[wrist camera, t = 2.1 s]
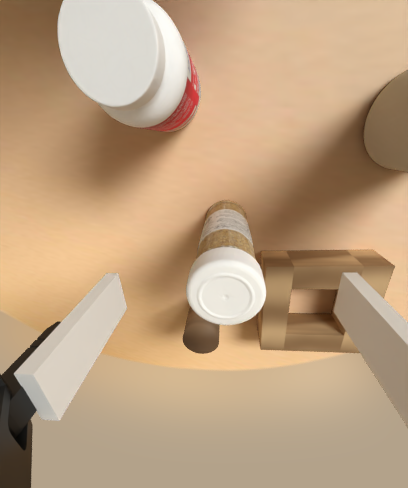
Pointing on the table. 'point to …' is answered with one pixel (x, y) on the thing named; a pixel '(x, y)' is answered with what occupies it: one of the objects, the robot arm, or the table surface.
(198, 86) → the pill bottle
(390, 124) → the travel mug
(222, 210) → the sprinkles bottle
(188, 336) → the walnut stub
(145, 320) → the table surface
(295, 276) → the oak collar
